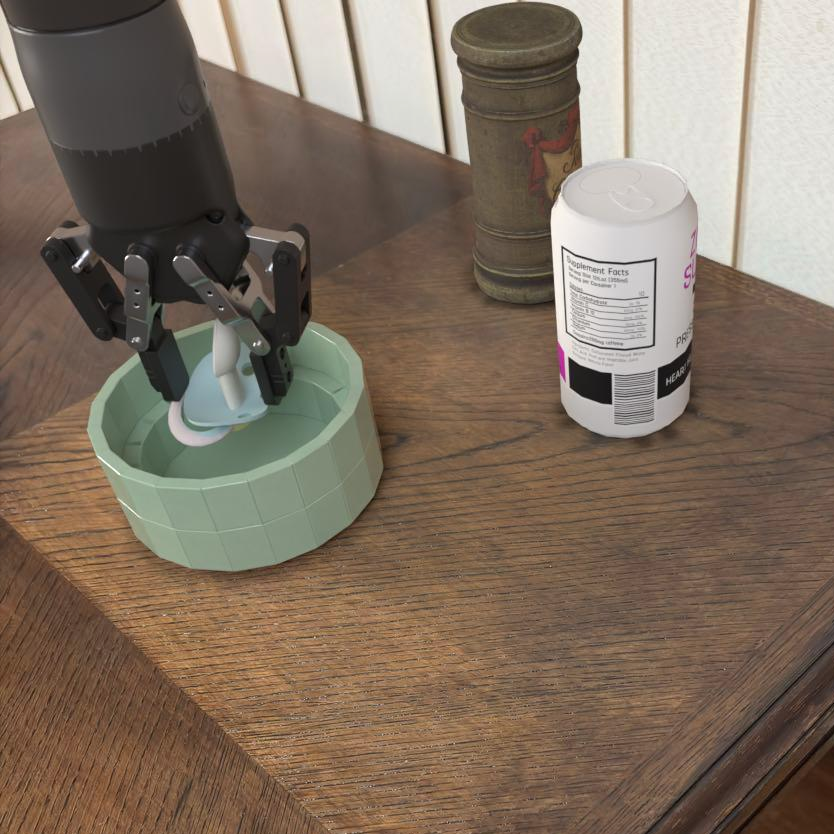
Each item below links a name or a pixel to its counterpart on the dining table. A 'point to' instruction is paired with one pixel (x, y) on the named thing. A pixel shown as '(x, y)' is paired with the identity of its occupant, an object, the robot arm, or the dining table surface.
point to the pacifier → (218, 393)
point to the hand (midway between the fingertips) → (226, 393)
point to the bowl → (243, 460)
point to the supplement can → (624, 294)
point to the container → (518, 138)
